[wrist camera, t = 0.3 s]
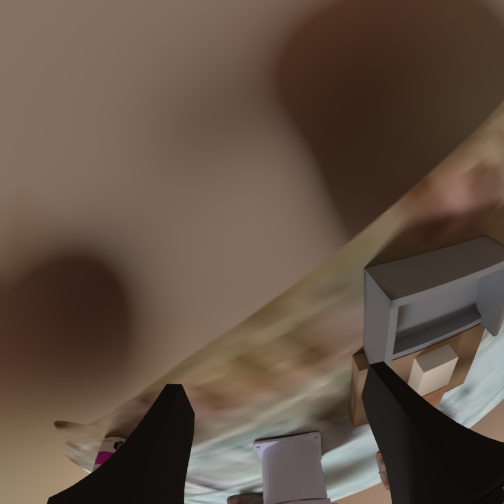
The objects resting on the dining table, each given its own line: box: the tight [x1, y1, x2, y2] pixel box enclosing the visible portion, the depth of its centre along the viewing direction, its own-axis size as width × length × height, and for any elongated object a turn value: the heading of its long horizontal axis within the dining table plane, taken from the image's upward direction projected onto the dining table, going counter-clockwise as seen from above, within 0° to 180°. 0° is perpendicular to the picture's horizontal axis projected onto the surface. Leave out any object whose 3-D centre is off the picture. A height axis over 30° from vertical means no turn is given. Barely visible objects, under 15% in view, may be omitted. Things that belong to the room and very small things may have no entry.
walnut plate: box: [349, 323, 485, 427], centre depth 22 cm, size 10×15×2 cm, turn 102°
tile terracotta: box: [422, 385, 447, 408], centre depth 21 cm, size 4×4×2 cm
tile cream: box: [408, 344, 458, 396], centre depth 20 cm, size 4×4×2 cm
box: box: [363, 235, 504, 368], centre depth 18 cm, size 8×13×4 cm, turn 102°
